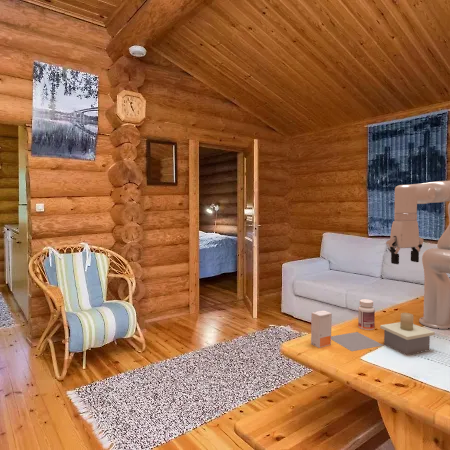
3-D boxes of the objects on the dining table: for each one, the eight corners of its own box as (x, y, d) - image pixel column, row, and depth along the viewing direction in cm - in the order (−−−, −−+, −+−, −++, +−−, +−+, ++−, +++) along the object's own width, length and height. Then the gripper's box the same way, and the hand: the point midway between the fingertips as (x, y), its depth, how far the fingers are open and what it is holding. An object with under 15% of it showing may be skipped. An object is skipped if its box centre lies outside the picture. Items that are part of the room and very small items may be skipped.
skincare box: (318, 349, 126) (319, 315, 126) (310, 344, 130) (310, 312, 129) (331, 345, 129) (332, 313, 128) (323, 341, 133) (323, 309, 132)
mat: (357, 332, 141) (357, 332, 141) (384, 346, 128) (384, 345, 128) (327, 337, 136) (327, 336, 136) (351, 352, 123) (351, 351, 123)
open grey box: (405, 340, 132) (405, 324, 132) (429, 351, 123) (429, 334, 123) (384, 344, 129) (384, 328, 129) (406, 356, 120) (407, 338, 119)
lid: (406, 323, 133) (406, 307, 133) (434, 334, 122) (435, 317, 122) (380, 328, 129) (380, 311, 129) (407, 339, 118) (407, 322, 118)
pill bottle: (377, 328, 145) (378, 301, 145) (368, 332, 142) (368, 303, 141) (364, 324, 150) (364, 297, 150) (354, 327, 147) (355, 300, 146)
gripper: (414, 216, 142) (413, 259, 143) (379, 218, 136) (379, 263, 137) (431, 217, 135) (430, 262, 136) (395, 219, 129) (395, 266, 130)
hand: (404, 262), depth 136 cm, fingers open, 9 cm apart
